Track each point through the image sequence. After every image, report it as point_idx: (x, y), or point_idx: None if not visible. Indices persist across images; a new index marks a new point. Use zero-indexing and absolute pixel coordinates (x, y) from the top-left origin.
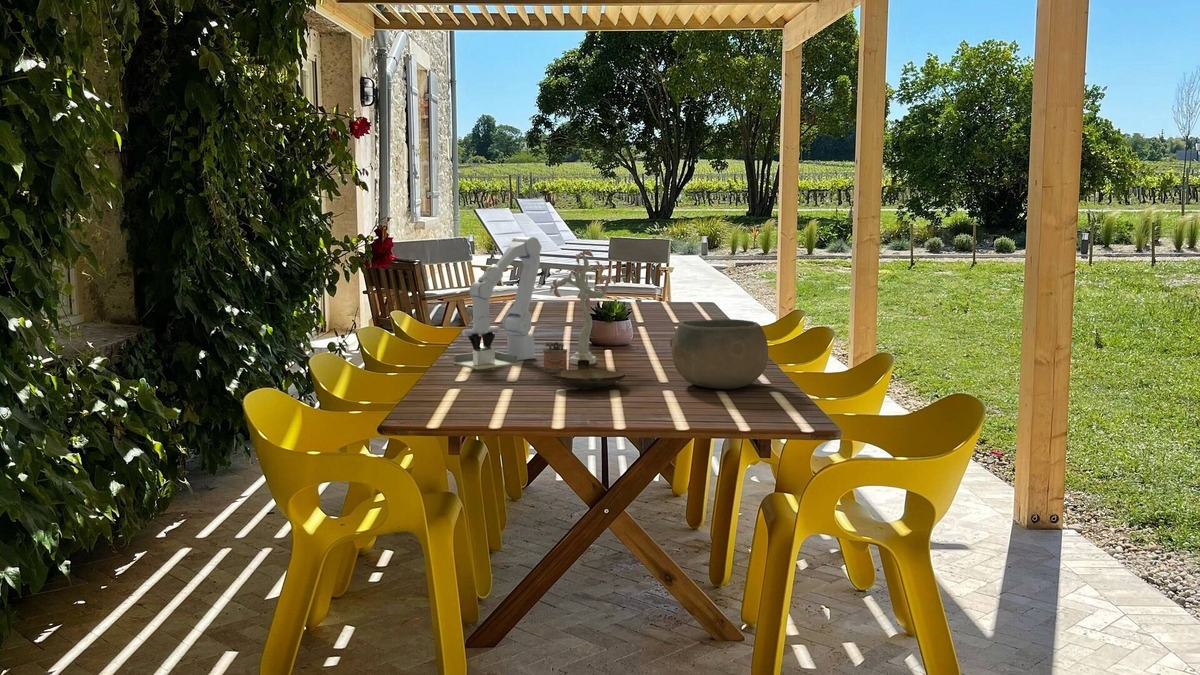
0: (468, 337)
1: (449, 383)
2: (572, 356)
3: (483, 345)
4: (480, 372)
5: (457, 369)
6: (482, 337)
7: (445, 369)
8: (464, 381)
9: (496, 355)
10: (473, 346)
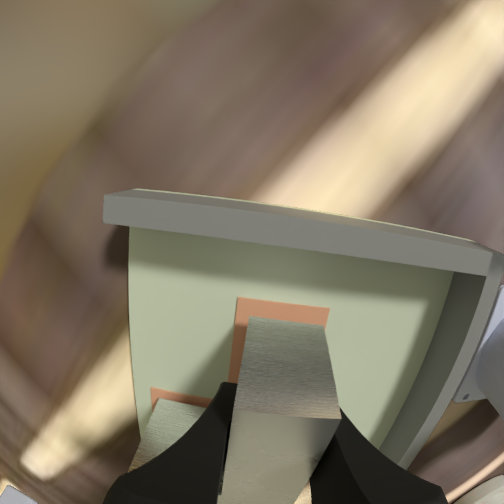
0: (118, 480)
1: (6, 461)
2: (480, 502)
3: (297, 465)
4: (124, 472)
5: (65, 369)
6: (356, 494)
7: (21, 321)
8: (40, 480)
9: (448, 337)
10: (196, 430)
